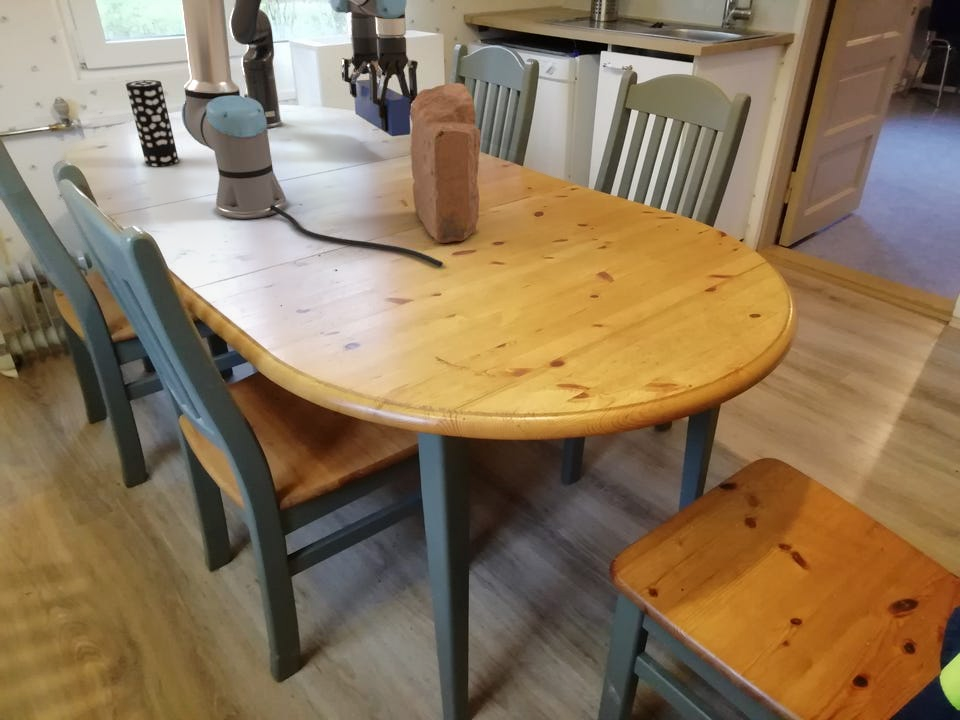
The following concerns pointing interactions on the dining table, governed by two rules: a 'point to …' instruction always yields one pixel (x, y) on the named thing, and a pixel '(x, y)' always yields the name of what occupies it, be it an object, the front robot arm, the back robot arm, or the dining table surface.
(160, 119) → the black white spotted cylinder
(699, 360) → the dining table surface
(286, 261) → the dining table surface
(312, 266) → the dining table surface
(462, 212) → the stone
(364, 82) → the bar
